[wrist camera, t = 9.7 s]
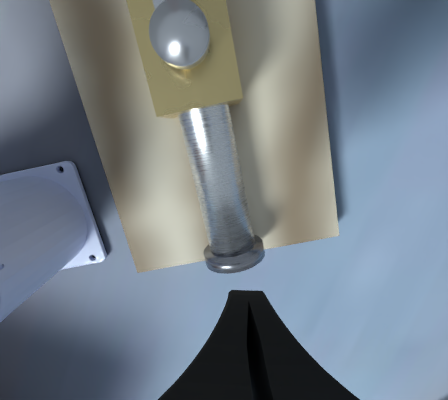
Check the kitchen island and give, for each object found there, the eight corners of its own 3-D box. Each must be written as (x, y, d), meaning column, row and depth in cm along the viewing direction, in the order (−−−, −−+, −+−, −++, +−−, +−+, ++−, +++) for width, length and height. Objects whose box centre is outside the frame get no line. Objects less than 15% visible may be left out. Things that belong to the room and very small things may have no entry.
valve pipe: (205, 249, 21) (198, 293, 15) (99, -184, 14) (22, -369, 9) (263, 238, 20) (276, 279, 15) (182, -208, 14) (154, -414, 9)
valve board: (143, 263, 22) (137, 272, 21) (13, -152, 15) (-10, -181, 14) (331, 228, 21) (339, 235, 20) (280, -230, 14) (286, -270, 13)
